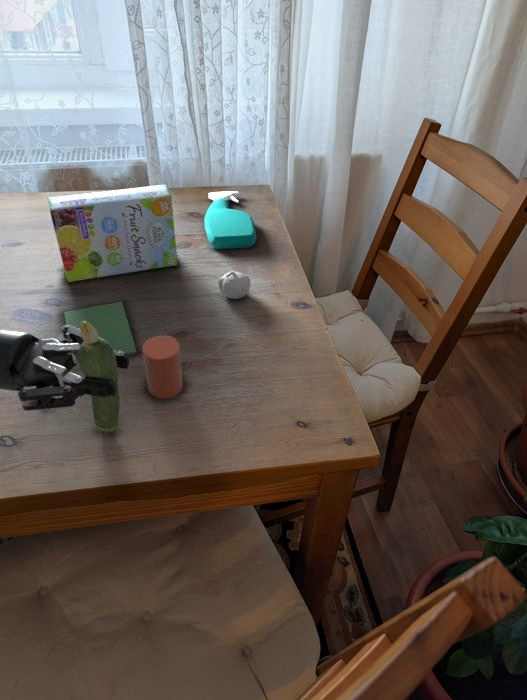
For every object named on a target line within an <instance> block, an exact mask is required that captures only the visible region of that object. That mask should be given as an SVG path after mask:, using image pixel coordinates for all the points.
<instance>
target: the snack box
mask: <svg viewBox="0 0 527 700" xmlns="http://www.w3.org/2000/svg"><path fill="white" fill-rule="evenodd" d="M47 203H48V207H49V214H50V218H51V221H52V225H53V229H54V234H55V238H56V242H57V246H58V249H59V253H60V259H61V262H62V267H63V270H64V274H65V277H66V280H67V282H68V283H73V282H76V281H77V282H78V281H84V280H90V279H96V278H97V279H98V278H103V277H109V276H116V275H122V274H129V273H137V272H143V271H148V270H155V269H161V268H169V267H174V266H175V267H176V266H177V265H178V256H177V244H176V243H177V242H176V231H175V220H174V219H175V218H174V208H173V196H172V194H171V192H170V190H169V189H168V187H167V185H166V184H158V185H150V186H139V187H133V188H123V189H114V190H107V191H106V190H105V191H96V192H89V193H79V194H71V195H63V196H52V197H47Z"/></svg>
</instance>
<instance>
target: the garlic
mask: <svg viewBox="0 0 527 700" xmlns="http://www.w3.org/2000/svg"><path fill="white" fill-rule="evenodd" d="M217 285H218V289H219V291H220V293H222V294H223V295H224V297H227V298H229V299H233V300H238V299H243V298H244V297H245V296H247V295H248V293H249V291H250V288H251V285H252V284H251V279H250V277H249V276H248V275H246V274H245V273H243V272H241V271H237V270H232V271H229V272H227V273H224V275H223V276H221V277H220V278H219V279H218V282H217Z"/></svg>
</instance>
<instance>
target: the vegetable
mask: <svg viewBox="0 0 527 700" xmlns="http://www.w3.org/2000/svg"><path fill="white" fill-rule="evenodd" d="M80 331H81V335H82V338H83V340H84V342H83V343H82V344H81V345H80V347H79V351H78V362H79V365H80V367H81V372H82V373H83V375H84V377H85V376H88V377H96V378H104V379H112V380H114V381H115V383H116V388H117V391H116V393H115V395H114V396H108V397H100V396H92V395H91V406H92V415H93V420H94V421H93V422H94V424H95V425H96V431H99V432H106V433H107V432H111V433H113V432H114V429H115V426H116V425H117V424H118V423H119V415H120V409H121V408H120V407H121V406H120V404H121V403H120V390H119V372H118V371H119V370H118V368H117V362H116V357H115V353H114V351H113V349H112V347H111V345H110V344H109V343H108V342H107V341H106V340H104V339H102V338H98V336H99V335H98V332H97V331H96V329H95V328H94V326H92V325H91V324H89V322H88V323H87V322H86V321H83V322H81V324H80Z"/></svg>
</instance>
